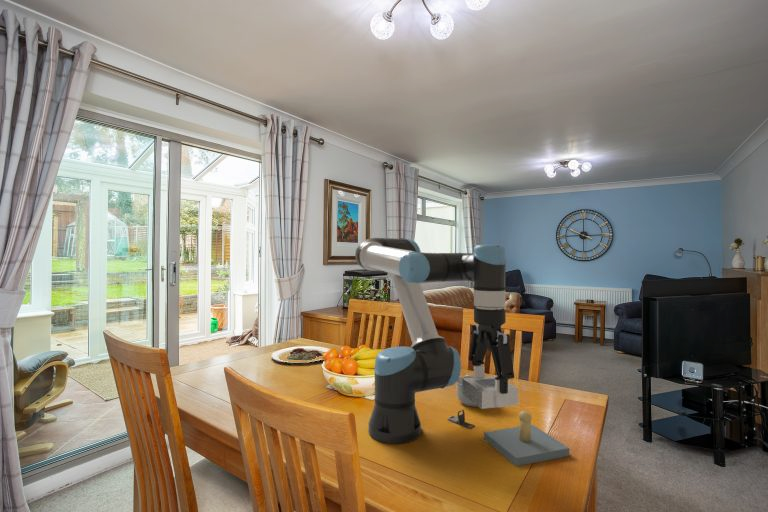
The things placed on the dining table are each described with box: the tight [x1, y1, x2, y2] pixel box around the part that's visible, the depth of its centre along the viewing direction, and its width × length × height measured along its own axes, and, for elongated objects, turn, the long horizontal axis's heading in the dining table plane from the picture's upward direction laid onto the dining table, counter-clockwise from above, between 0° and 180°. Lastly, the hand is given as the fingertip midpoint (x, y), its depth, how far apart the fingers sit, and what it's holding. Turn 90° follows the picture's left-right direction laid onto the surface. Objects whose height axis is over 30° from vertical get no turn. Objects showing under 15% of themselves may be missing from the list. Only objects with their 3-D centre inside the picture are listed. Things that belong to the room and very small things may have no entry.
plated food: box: [271, 345, 331, 364], centre depth 189 cm, size 30×30×3 cm
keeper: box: [483, 410, 570, 467], centre depth 101 cm, size 16×14×10 cm
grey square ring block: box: [463, 375, 519, 410], centre depth 94 cm, size 10×10×4 cm
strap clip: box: [447, 409, 476, 430], centre depth 116 cm, size 8×3×4 cm, turn 42°
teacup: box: [455, 374, 478, 408], centre depth 133 cm, size 14×11×8 cm
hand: (489, 398), depth 94 cm, fingers closed on grey square ring block, 10 cm apart
